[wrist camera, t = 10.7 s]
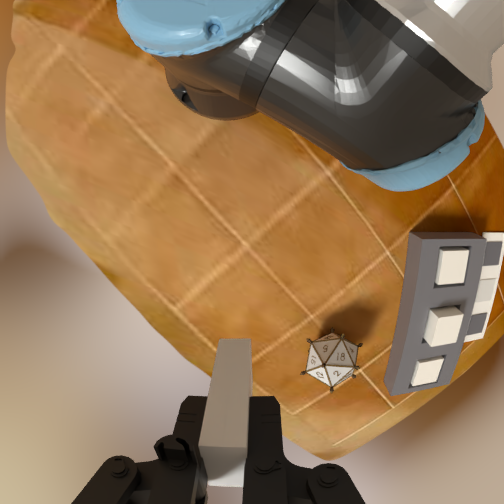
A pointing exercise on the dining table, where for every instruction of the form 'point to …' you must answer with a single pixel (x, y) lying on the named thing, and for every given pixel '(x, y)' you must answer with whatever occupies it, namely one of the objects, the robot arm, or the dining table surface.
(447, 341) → the middle button
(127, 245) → the dining table surface
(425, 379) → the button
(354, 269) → the dining table surface
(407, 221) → the dining table surface
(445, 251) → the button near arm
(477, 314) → the pattern card
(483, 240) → the button board
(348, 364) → the game die
